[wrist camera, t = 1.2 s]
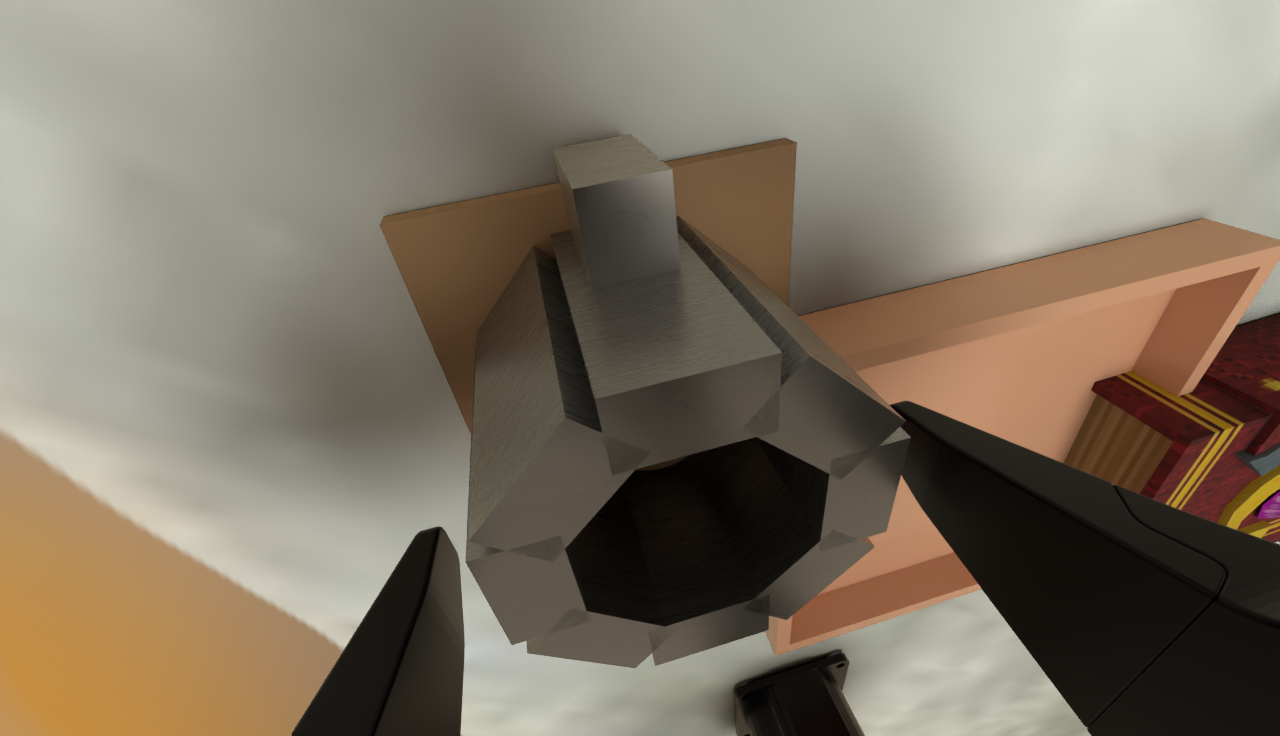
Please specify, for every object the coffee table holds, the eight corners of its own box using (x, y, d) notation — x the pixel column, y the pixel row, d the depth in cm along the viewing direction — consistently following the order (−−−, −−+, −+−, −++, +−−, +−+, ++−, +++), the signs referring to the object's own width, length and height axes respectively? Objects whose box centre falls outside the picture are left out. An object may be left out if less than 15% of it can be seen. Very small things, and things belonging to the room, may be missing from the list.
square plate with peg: (774, 426, 17) (830, 507, 14) (503, 498, 16) (506, 601, 13) (786, 138, 12) (879, 176, 9) (383, 216, 11) (345, 288, 8)
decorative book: (1067, 361, 20) (1216, 450, 16) (1409, 259, 21) (1623, 316, 17) (992, 538, 26) (1083, 633, 22) (1256, 451, 28) (1385, 524, 24)
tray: (1043, 517, 25) (1084, 555, 24) (754, 607, 23) (775, 655, 22) (1204, 218, 16) (1290, 242, 15) (758, 325, 15) (795, 368, 13)
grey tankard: (755, 422, 16) (869, 597, 11) (526, 483, 15) (543, 701, 10) (759, 109, 11) (976, 186, 6) (410, 175, 10) (333, 325, 5)
